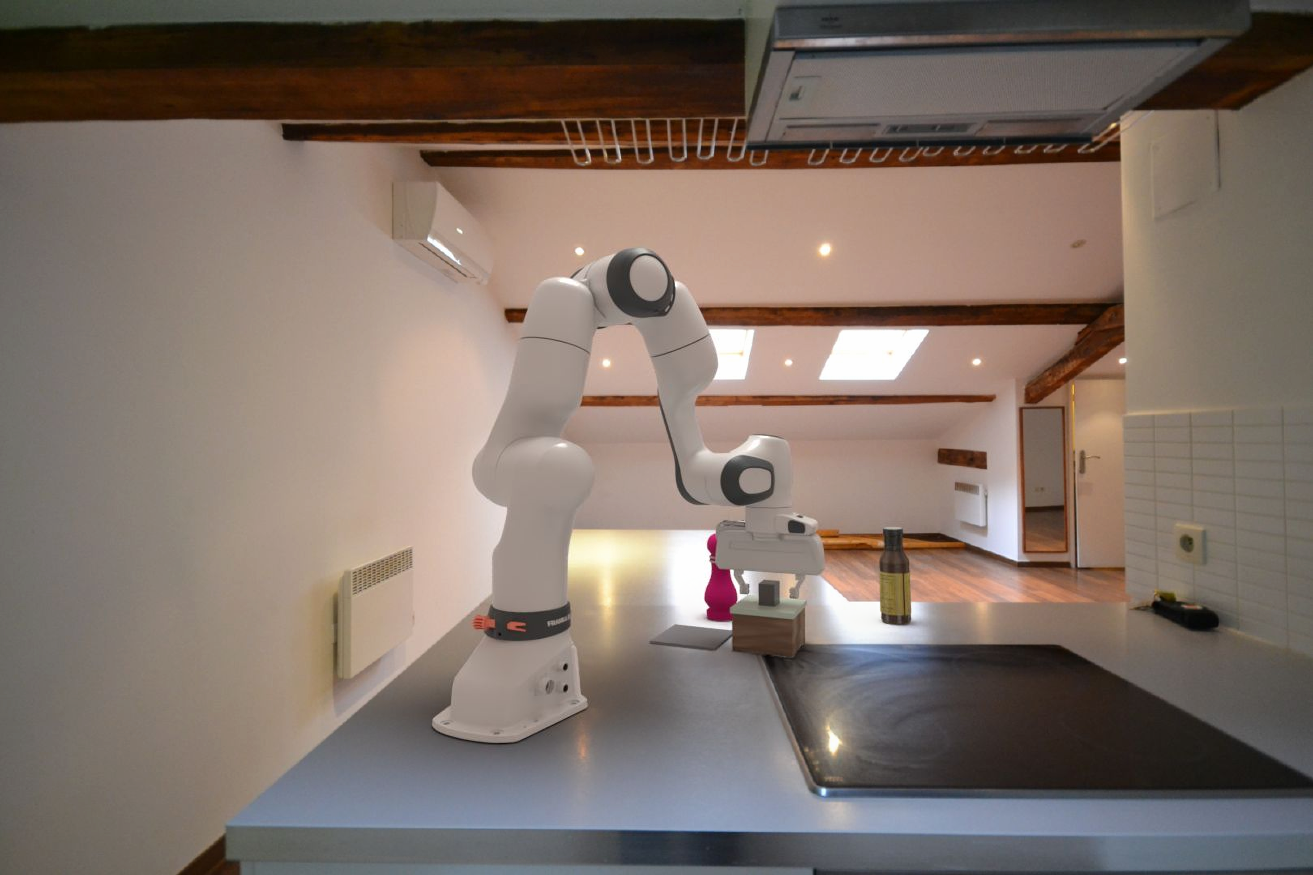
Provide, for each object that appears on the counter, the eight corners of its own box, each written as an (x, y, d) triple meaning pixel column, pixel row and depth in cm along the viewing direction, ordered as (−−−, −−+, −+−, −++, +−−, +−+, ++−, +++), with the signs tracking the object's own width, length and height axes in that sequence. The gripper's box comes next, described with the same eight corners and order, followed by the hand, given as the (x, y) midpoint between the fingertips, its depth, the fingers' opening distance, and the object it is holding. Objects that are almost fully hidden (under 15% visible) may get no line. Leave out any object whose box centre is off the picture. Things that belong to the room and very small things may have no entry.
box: (792, 658, 123) (792, 618, 124) (732, 651, 128) (732, 612, 128) (805, 642, 134) (804, 605, 134) (748, 635, 138) (748, 600, 138)
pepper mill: (699, 615, 155) (699, 524, 155) (729, 612, 157) (729, 523, 157) (711, 623, 148) (711, 528, 148) (743, 620, 150) (742, 526, 150)
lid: (793, 624, 123) (793, 590, 123) (730, 618, 128) (729, 585, 128) (806, 610, 134) (806, 578, 134) (747, 604, 138) (747, 574, 138)
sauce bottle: (900, 617, 152) (899, 525, 152) (917, 624, 146) (916, 528, 146) (873, 618, 151) (873, 526, 151) (889, 626, 145) (889, 529, 145)
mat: (714, 651, 128) (714, 648, 128) (649, 643, 133) (649, 640, 133) (735, 633, 140) (735, 630, 140) (675, 626, 145) (675, 624, 145)
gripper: (710, 521, 132) (710, 594, 132) (820, 525, 124) (820, 604, 124) (720, 517, 138) (721, 588, 138) (826, 521, 130) (826, 596, 130)
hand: (769, 595), depth 131 cm, fingers open, 8 cm apart
